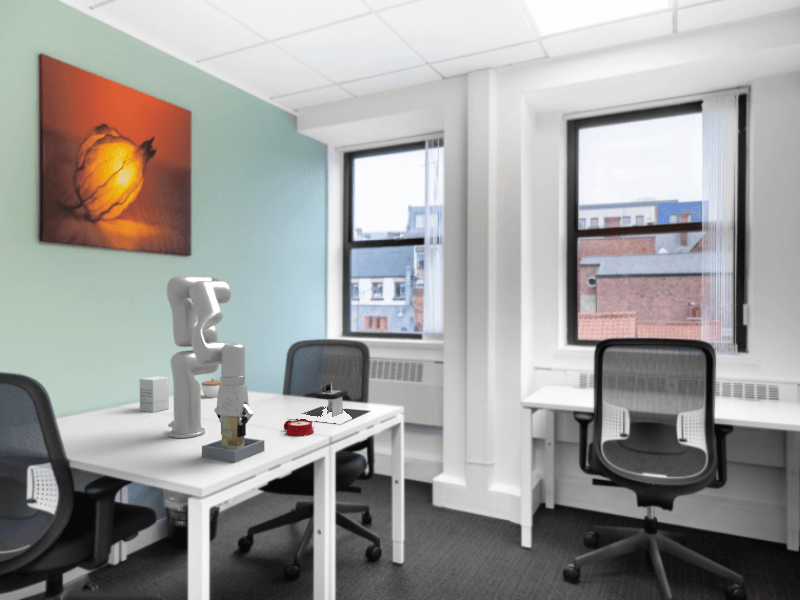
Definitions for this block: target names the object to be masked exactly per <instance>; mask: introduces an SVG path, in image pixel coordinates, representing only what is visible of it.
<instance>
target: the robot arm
mask: <svg viewBox="0 0 800 600" xmlns="http://www.w3.org/2000/svg"><path fill="white" fill-rule="evenodd" d="M231 290H232V289H231V287H230V286H229V284H228V283H227V282H226V281H225V280H222V279H219V278H217V277H214V276H205V275H202V276H201V275H178V276H173V277H171V278H170V279H168V282H167V285H166V296H167V299H168V303H169V305H170V309H171V316H172V318H171V319H172V331H173V334H172V335H173V340H174V344H175V346H177V347H180V348H190V347H191V348H192V350H181V351H178V352H176V353H174V354H172V356H171V358H170V368H171V373H172V382H173V383H172V384H173V385H172V387H173V420H171V421H170V422H169V423H168V424H167V427H168V428H172V429H171V431H169V433H168V435H169V436H170V437H171V438H176V439H184V438H185V439H187V438H193V437H194V438H195V437H199V436H202V435H204V434H205V433H206V429H205V428H204V427H201V426H202V423H201V420H202V419H201V416H202V415H201V413H202V410H201V409H202V405H201V404H202V403H201V402H202V401H201V397H202V394H201V393H202V391H201V389H202V387H201V385H200V383H199V381H198V380H197V379H196V378H195V376H198V375H208V374H213V373H216V372H217V371H218V369H219V366H221V369H220V370H221V373H220V374H221V376H220V378H219V381H221V385H220V386H219V390H218V397H216V398H217V399H216V407H215V408H214V409H213V410H214V413H215V415H217V418H218V419H219V423H220V435H221V436H222V416H229V417H238V422H239V425H238V437H242V436H244V437H245V436H246V434H247V433H246V432H247V431H246V430H247V428H246V427H247V425H246V424H248V422H249V421H250V419H252V417H253V415H254V413H253V411H252V410H251V409H250V407H249V404H250V403H249V395H248V394H249V393H248V388H247V385H246V347H245V345H244V344H242V343H236V342H234V341H229V340H228V341H219V338H218V337H219V336H218V329H217V327H216V325H218V324H219V323H221V321H222V320H223V318H224V314H223V310H222V308H221V306H220V304H227V303H229V302H230V300H231V299H232V298H231V297H232V291H231ZM189 299H191V301H190V300H189ZM242 413H243V414H242ZM241 417H242V419H241Z"/></svg>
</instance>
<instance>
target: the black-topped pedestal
mask: <svg viewBox="0 0 800 600" xmlns="http://www.w3.org/2000/svg"><path fill="white" fill-rule="evenodd" d="M348 391H349V390H348V389H347V390H346V389H345V390H344V389H333V387H332V382H330V383H329V384H328V383H327V384H325V385H324V386H322V385H321V386H320V391H318V392H316V394H315V396H316V399H320V400H322V399H323V400H327V403H328V404H327V405H326V406H322V405H321V406H319V407H316V408H313V409H311V410H308V411H305V412H302V413H301V414H306V413H307V414H306V415H310V416H317V417H318V416H320V417H321V415H322V413H323V411H322V410H323V409H325V408H326V407H327V410H328V411H327V414H328V413H329V412H332V417H334V416H337V415H339V414H342V413H343V410H344V411H345V412H346V413H347V414H349V415H350V416H351V417H352V420H354V419H356V418H359V417H360V416H363V415H366V414H367V413H371V410H366V409H356V408H355V409H354V408H353V409H352V408H345V409H343V407H344V406H343V397H345V396H348V394H349V392H348ZM324 407H325V408H324ZM322 416H323V415H322Z"/></svg>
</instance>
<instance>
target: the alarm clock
mask: <svg viewBox="0 0 800 600" xmlns="http://www.w3.org/2000/svg"><path fill="white" fill-rule="evenodd" d="M283 429H284V431H285V434H286V435H288V436H292V437H301V436H302V437H305V436H304V435H306V436H308V435H312V434H314V432H315V426H314V427H313V422H311V421H308V420H306V419H300V420H292V419H287V420H286V421H285V422H284V424H283ZM286 430H287V431H286ZM311 433H312V434H311Z"/></svg>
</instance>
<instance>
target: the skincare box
mask: <svg viewBox="0 0 800 600" xmlns="http://www.w3.org/2000/svg"><path fill="white" fill-rule="evenodd" d="M242 414H243V413H242ZM241 419H242V417H241ZM238 425H239V422H238V417H229V416H222V435H221V440H222V448H224V449H230V450H237V449H239V448H242V447H244V438H245V436H242V437H238Z"/></svg>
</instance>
